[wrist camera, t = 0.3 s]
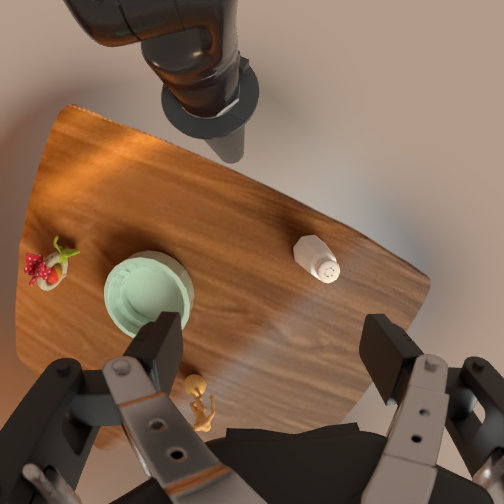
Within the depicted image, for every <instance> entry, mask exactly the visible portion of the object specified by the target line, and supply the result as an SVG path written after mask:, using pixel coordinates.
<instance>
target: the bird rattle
mask: <svg viewBox="0 0 504 504" xmlns="http://www.w3.org/2000/svg"><path fill="white" fill-rule="evenodd" d="M57 240H58V235H57V236H56V237H55V239H54V242H53V245H54V247H55V248H57V249H58V250H57V251H56V252H54V253H52V254H50V255H49V256H48V257H47V258H46V259H45V260H43V254H42V253H40V254H39V255H38V256H37V255H33V254H30V253H27V254H26V262H27V266H26V267H25V269H24V271H25V273H26V274H27V275H33V277H32V279H31V281H30V283H29V286H32V285H33V284H34V282H35V280H37V283H38V285H39V287H40V288H41V289H43V290H45V291H48V290H51V289H53V288H55V287H56V286H57V285H58V284H59V283H60V282H61V280H62V279H63V278H64V277H65V276H66V275H67V272H66V271H67V268H68V257H70V256H72V255H76V254H78V253H80V250H78V249H64V248H63V247H62V246H58V245H57V244H56V241H57ZM57 263H59V264H57Z"/></svg>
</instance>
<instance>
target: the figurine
mask: <svg viewBox="0 0 504 504" xmlns="http://www.w3.org/2000/svg"><path fill="white" fill-rule="evenodd" d="M184 388H185V390H186V391H187V393H189V394H190V395H192V396H193V398H194V400H195V402H192V403H190V405H189V406H190V407H191V409H192V411H193V412H194V415H195V417H196V419H195V424H194V428H193V427H192V426H191V425H190V424H189V425H190V426H191V427H192V428H193V430H194V431H197V430H198V431H200V430H202V431H209V430H210V427H211V425H210V421H211V419H212V418H213V416H214V414H215V406H214V397H213V396H212V395H213V394H211V396H210V399H211V406H212V413H211V414H210V415H209V416H208V418H207V417H206V416H205V414H204V411H205V410H206V407H205V406H204V405H203V403H202V401H201V400H203V397H202V395H201V394H202V393H203V392H204V391H205V389H206V382H205V380H204V378H203V377H201V376H200V375H196V374H193V375H190V376H188V377H187V378H186V379H185V381H184ZM198 395H199V397H197V398H196V396H198ZM209 395H210V394H209ZM194 405H196V406H197V407H198V408H199V409H198V408H197V407H196V406H194Z"/></svg>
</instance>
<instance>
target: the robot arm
mask: <svg viewBox="0 0 504 504" xmlns="http://www.w3.org/2000/svg"><path fill="white" fill-rule="evenodd" d="M63 1H64V3H65V4H66V6H67V8H68V9H69V11H70V12H71V14H72V15H73V17H74V19H75V20H76V21H77V23H78V24H79V26H80V27H81V28H82V29H83V30H84V32H85V33H86V34H87V35H88V36H89V37H90V38H91V39H92V40H94V41H95V42H97V43H98V44H100V45H103V46H107V47H118V46H125V45H130V44H134V43H138V42H141V51H142V54H143V57H144V59H145V61H146V62H147V64H148V65H149V66H150V68H151V69H152V70H153V71H154V72H155V73H156V75H157V76H158V77H159V78H160V79H161V81H162V82H163V83H164V84H165V86H166V87H167V88H168V89H169V90H170V92H171V93H172V94H173V95H174V97H175V98H176V99H177V100H178V101H179V103H180V104H181V106H182V108H183V109H184V110H185V111H186V112H187V113H188V114H189V115H191V116H193V117H195V118H198V119H203V120H211V119H216V118H219V117H222V116H224V115H225V114H227V113H228V112H230V111H231V110H232V109H233V108H234V106H235V105H236V103H237V102H238V101H239V95H240V84H239V78H240V75H242V76H243V75H244V74H245V72H246V71H247V69H248V67H249V60H248V59H246V58H244V57H241V55H240V52H239V51H238V47H237V27H236V14H237V3H238V0H63ZM359 354H360V358H361V360H362V362H363V363H364V365H365V367H366V369H367V371H368V373H369V374H370V376H371V378H372V380H373V382H374V384H375V386H376V388H377V389H378V391H379V393H380V395H381V397H382V399H383V401H384V403H385V405H386V406H387V405H392V404H397V405H398V407H397V410H396V412H395V414H394V417H393V419H392V422H391V424H390V426H389V429H388V431H387V433H386V436H382V435H379V434H376V433H372V432H365V431H360V430H359V427H358V425H357V422H356V423H348V424H340V425H331V426H325V427H321V428H318V429H314V430H311V431H307V432H303V433H300V434H287V433H281V432H274V431H268V430H263V429H235V428H227V431H226V437H224V438H218V439H214V440H210V441H207V442H205V443H204V442H203V441H202V440H201V438H200V437H199V436H198V435H197V433H196V432H195V431H194V430H193V428H192V427H191V426H190V425H189V423H188V422H187V421H186V419H185V418H184V417H183V416H182V414H181V413H180V412H179V410H178V409H177V407H176V406H175V405H174V403H173V402H172V401H171V399H170V398H169V394H170V391H171V388H172V385H173V382H174V379H175V376H176V373H177V371H178V368H179V365H180V362H181V359H182V355H183V338H182V327H181V316H180V313H179V312H169V311H162V312H161V313H160V315H159V316H158V318H157V320H156V321H155V322H153V321H149V322H148V323H146V324H145V325H143V326H142V327H141V328H140V330H139V331H138V333H137V335H136V336H135V337H134V340H132V342H131V343H130V345H129V346H128V348H127V350H126V351H125V353H124V354H123V356H119V357H114V358H112V359H110V360H108V361H107V362H105V364H104V365H103V367H102V370H82V368H81V364H80V363H79V362H78V361H77V360H75V359H72V358H62V359H58V360H55V361H54V362H52V363H51V364H50V365H49V366H48V367H47V368H46V369H45V371H44V372H43V373H42V374H41V376H40V377H39V378H38V380H37V381H36V383H35V384H34V385H33V386H32V387H31V389H30V390H29V392H28V393H27V394H26V395H25V397H24V398H23V400H22V401H21V402H20V404H19V405H18V406H17V408H16V409H15V411H14V412H13V414H12V415H11V416H10V418H9V419H8V421H7V422H6V423H5V425H4V427H3V428H2V429H1V431H0V504H82V502H81V500H80V498H79V496H78V495H77V494H76V493H75V489H76V487H77V484H78V481H79V478H80V476H81V473H82V470H83V468H84V466H85V463H86V460H87V458H88V455H89V453H90V450H91V448H92V445H93V443H94V441H95V438H96V436H97V433H98V431H99V429H100V426H111V425H121V427H122V429H123V431H124V433H125V435H126V437H127V439H128V441H129V443H130V445H131V447H132V449H133V451H134V453H135V455H136V457H137V459H138V461H139V463H140V465H141V467H142V469H143V471H144V472H145V474H146V476H147V478H148V480H147V481H145V482H144V483H142V484H141V485H139V486H138V487H136V488H134V489H133V490H131V491H130V492H128V493H126V494H125V495H123V496H121V497H120V498H118V499H117V500H115V501H113V502H111V503H109V504H504V378H503V377H502V376H501V375H500V374H499V373H498V372H497V370H495V368H494V367H493V366H492V365H491V364H490V363H489V362H488V361H486V360H485V359H483V358H480V357H468V358H467V359H466V360H465V362H464V364H463V367H462V368H450V367H448V365H447V363H446V362H445V361H444V360H443V359H442V358H440V357H438V356H435V355H431V354H424V353H423V352H422V351H421V349H420V348H419V347H418V346H417V345H416V344H415V342H414V341H412V339H411V338H410V337H409V336H408V334H407V333H406V332H405V331H404V330H403V329H402V328H401V327H399V326H397V325H396V324H394V323H393V324H392V322H391V321H390V320H389V319H388V318H387V317H386V315H385V314H368V315H367V316H366V318H365V322H364V327H363V331H362V336H361V340H360V345H359ZM477 401H479V403H480V404H481V405H482V407H483V408H484V410H485V420H484V422H483V423H481V422H480V420H479V419H478V417H477V416H476V414H475V413H474V411H473V408H474V406H475V405H476V403H477ZM444 426H445V427H446V429H447V431H448V432H449V434H450V436H451V438H452V440H453V442H454V444H455V445H456V447H457V449H458V451H459V453H460V455H461V457H462V459H463V461H464V463H465V465H466V467H467V469H468V471H469V473H470V475H471V477H472V479H473V480H472V481H470V480H468V479H466V478H464V477H461V476H459V475H457V474H455V473H453V472H451V471H449V470H447V469H445V468H442V467H441V466H439V465H437V464H436V462H437V458H438V454H439V449H440V445H441V441H442V436H443V431H444Z"/></svg>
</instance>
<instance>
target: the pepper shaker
mask: <svg viewBox="0 0 504 504" xmlns="http://www.w3.org/2000/svg"><path fill="white" fill-rule="evenodd" d="M293 250H294V259H295V261H296V262H297V263H298V264H300V265H301V266H302V267H303V268H305V269H306V270H307V271H308V272H310V273H311V274H312V275H314V276H315V277H316V278H318V279H319V280H321V281H323V282H325V283H330V282H333V281H334V280H336V279H337V278H338V276H339V273H340V268H339V265H338V264H337V263H336V258H335V256H334V255H333V253H332V252H331V251H330V249H329V248H328V246H327V245H326V244H325V242H323V241H322V240H321V239H320V238H318V237H317V236H316V235H309V236H302V237H301V238H300V239H299V241H298V242H297V243H296V244H295V246H294V247H293Z"/></svg>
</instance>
